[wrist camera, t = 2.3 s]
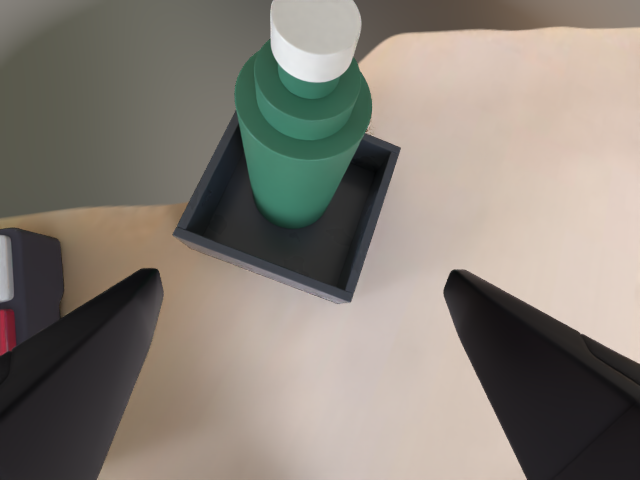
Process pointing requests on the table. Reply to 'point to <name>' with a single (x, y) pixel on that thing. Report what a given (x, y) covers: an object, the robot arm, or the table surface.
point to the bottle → (302, 109)
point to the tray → (281, 243)
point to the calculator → (28, 285)
